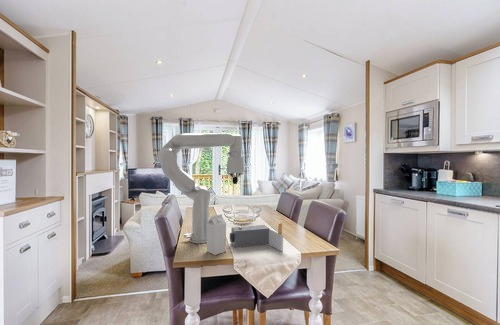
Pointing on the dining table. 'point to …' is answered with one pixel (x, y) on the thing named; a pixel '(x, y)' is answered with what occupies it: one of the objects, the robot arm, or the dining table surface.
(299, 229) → the dining table surface
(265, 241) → the box
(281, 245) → the side door
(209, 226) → the milk carton
